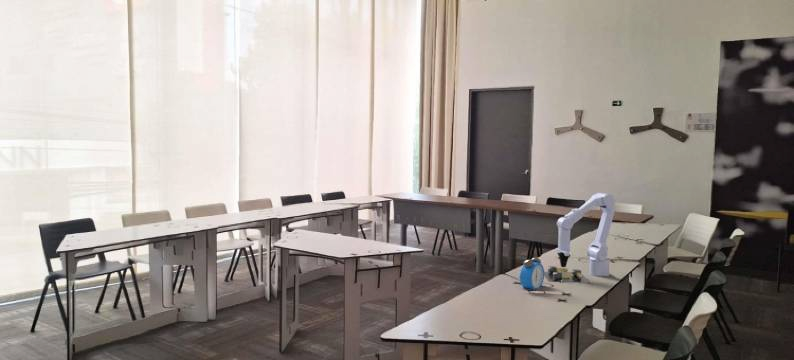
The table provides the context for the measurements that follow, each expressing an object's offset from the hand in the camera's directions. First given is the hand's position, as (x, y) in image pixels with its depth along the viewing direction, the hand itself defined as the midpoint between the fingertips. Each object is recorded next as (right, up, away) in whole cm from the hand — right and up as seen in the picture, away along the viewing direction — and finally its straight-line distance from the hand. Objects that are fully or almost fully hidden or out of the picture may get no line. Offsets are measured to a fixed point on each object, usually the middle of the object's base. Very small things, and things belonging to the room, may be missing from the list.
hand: (563, 266), depth 272 cm
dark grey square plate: (+1, -6, -1) cm, 6 cm away
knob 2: (-2, -5, -6) cm, 9 cm away
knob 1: (-1, -4, +6) cm, 7 cm away
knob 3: (+6, -5, -4) cm, 9 cm away
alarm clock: (-21, -8, -19) cm, 29 cm away
